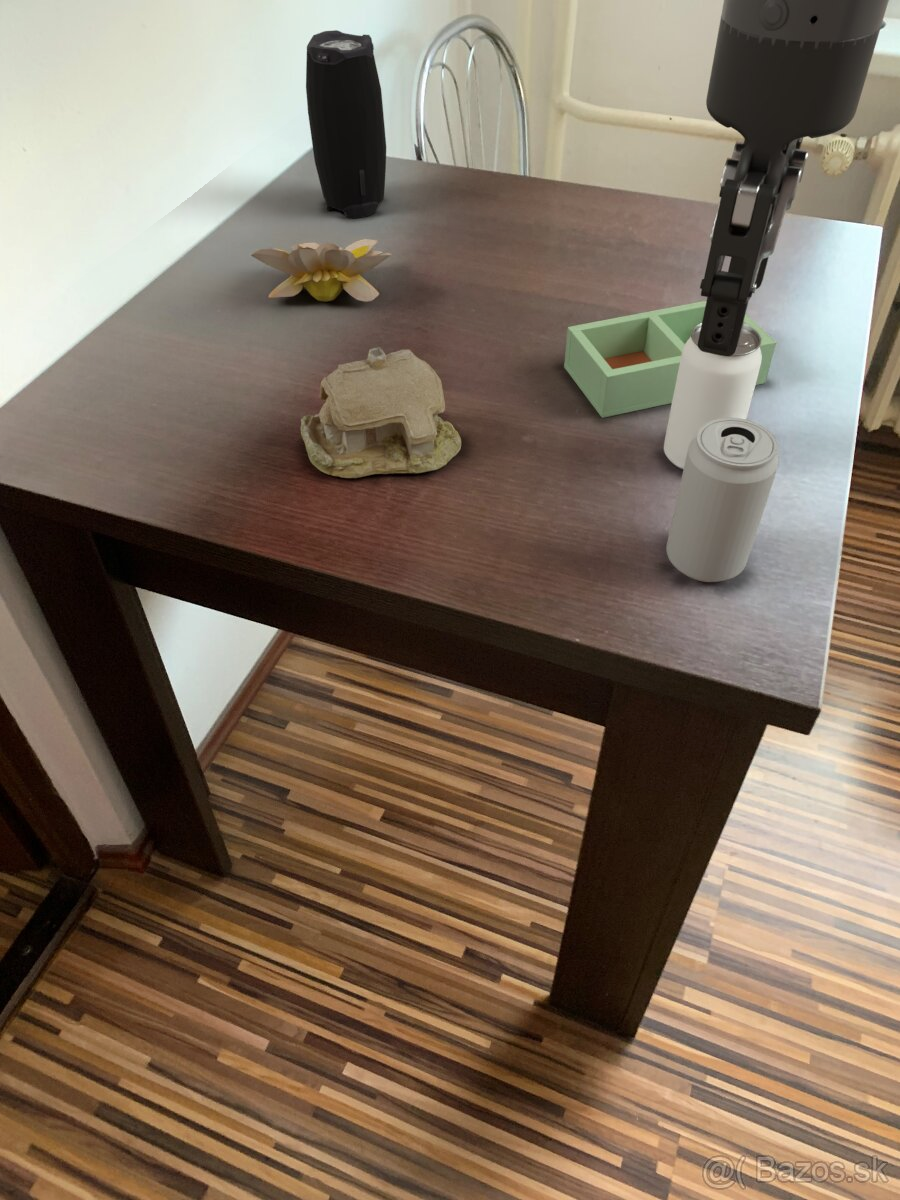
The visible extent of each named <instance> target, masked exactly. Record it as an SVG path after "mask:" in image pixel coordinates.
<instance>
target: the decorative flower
mask: <svg viewBox="0 0 900 1200" xmlns="http://www.w3.org/2000/svg"><path fill="white" fill-rule="evenodd" d="M378 242H379V241H378V240H376V239H370V238H364V239H359V240H356V241H354V242H353V243H350V244H349V245H347V246H346V247H345V248H344V249H343V247H339V246H338V245H336V244H335V243H333V242H324V243H321V244H319V243H317V242H304V243H299V244H293V245H292V247H291V252H290V253H289V252H288V251H286V250H283V249H280V248H260V249H258V250H257V251H255V252H253V253H252V254H251V255H250V256H251V257H252V258H254V259H256V260H258V261H259V262H261V263H263V264H264V265H266V266H269V267H271V268H273V269H275V270H278V271H280V272H282V273H285V274H287V275H290V276H289V277H287V278H286V279H285V280H283V281H282V282H281V283H279V284H278V285H277V286H276V287H275V288H273V290H271V292H270V293H269V294H268V298H283V297H284V298H285V297H286V298H287V297H295V296H296V295H298V294H299V293H300V292H301V291H302V290H303V288H305V289H306V290H307V292H308V293H309V294H310V296H311V297H312V298H314V299H315V300H317V301H319V302H324V303H326V302H331V301H332V302H333V301H334V300H335V299H336V298H337V297H338V296H339V295H340V294H341V293H342V292H343V290H344V291H345V292H346V293H348V295H349V296H351V297H352V298H354V299H355V300H357V301H361V302H372V301H374V300H375V299H376V298H378V296H379V295H380V292H379V291H378V290H377V289H376V288H375V287H374V286H373V285H372V284H371V283H369V281H367V280H366V279H365V278H364V277H363V276H361V275H362V274H364V273H366V272H368V271H370V270H372V269H374V268H375V267H377V266H378V265H380V264H381V263H382V262H384V261H385V260H386V259H388V258H389V257H391V256H392V253H390V252H386V253H384V252H383V251H380V250H373V249H374V247H375V246H376V245H377V244H378ZM372 250H373V251H372Z"/></svg>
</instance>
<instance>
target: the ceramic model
mask: <svg viewBox="0 0 900 1200" xmlns="http://www.w3.org/2000/svg"><path fill="white" fill-rule="evenodd" d="M319 387H320V388H319V393H318V394H319V395H318V396H319V399H320V400H322V401H325V402H323V405H322V406H321V408H320V410H319V413H317V414H315V415H313V414H306V415H303V417H302V418H301V419H300V423H301V424H300V436H301V438H302V440H303V443H304V446H305V450H306V452H307V456H308V459H309V461H310V463H311V464H312V465H313V466H314V467H315V468H316V469H317V470H319V471H320V472H322V473H324V474H327V475H329V476H333V477H339V478H343V479H358V478H362V477H367V476H371V475H381V474H382V475H388V474H422V473H426V472H431V471H437V470H439V469H441V468H442V467H444V466H446V465H447V464H448V462H450V461H451V460H452V459H453V458H454V457H456V456H457V455H458V453H459V452H460V451H461V449H462V448H461V447H462V438H461V436H460V433H459V432H458V431H457V430H456V429H455V427H454V426H453V424H452V423H451V422H449V421H448V420H444V419H442V418H441V416H439V415H440V414H442V413H444V412H445V410H446V402H445V397H444V390H443V389H444V388H443V383H442V381H441V378H440V376H439V375H438V373H437V372H436V371H435V369H433V367H431V365H430V364H429V363H427V362H426V361H425V360H422V359H420V358H419V357H418V356H416V355H415V354H414V353H413V352H412V350H411V349H410V348H409V349H403V348H402V349H400V350H397V351H393V352H390V353H388V354H386V353H385V351H384V350H383V349H382V347H381V346H379V347H374V348H370V349H369V350H368V355H367V358H366V359H361V360H356V361H352V362H347V363H341V364H338V367H337V369H334V370H333V371H332V372H331V373H329V374H328V375H327V376H324V377H323V379H322V380H321V381H320V386H319Z"/></svg>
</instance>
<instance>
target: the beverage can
mask: <svg viewBox="0 0 900 1200" xmlns="http://www.w3.org/2000/svg"><path fill="white" fill-rule="evenodd" d="M778 449H779V443H778V440H777V438H776V436H775V435H774V434H773V433H772V431H770V430H769V429H768V428H766V427H765V426H763V425H761V424H759V423H757V422H755V421H752V420H748V419H746V420H745V419H740V418H720V419H715V420H712V421H709V422H707V423H706V424H704V425H703V426H702V427H701V428H700V429H699V430H698V433H697V436H696V437H695V438H694V439H693V440H692V441H691V443H690V445H689V448H688V452H687V457H686V461H685V465H684V470H683V471H682V475H681V478H680V484H679V489H678V493H677V497H676V501H675V506H674V511H673V515H672V519H671V523H670V529H669V533H668V536H667V537H668V538H667V541H666V555H667V558H668V560H669V562H670V563H671V564H672V566H674V567H675V569H676V570H678V571H679V572H680V573H681V574H684V575H685V576H687V577H688V578H690V579H692V580H695V581H699V582H701V583H702V582H704V583H718V582H724V581H728V580H731V579H733V578H735V577H737V576H739V575H740V574H741V573H742V572H743V571H744V569H745V568H746V566H747V565H748V561H749V557H750V554H751V552H752V548H753V545H754V542H755V539H756V536H757V533H758V530H759V528H760V523H761V520H762V518H763V514H764V512H765V509H766V505H767V502H768V499H769V496H770V494H771V493H770V492H771V489H772V487H773V484H774V480H775V477H776V475H777V472H778V468H779V465H780V459H779V455H778Z"/></svg>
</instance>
